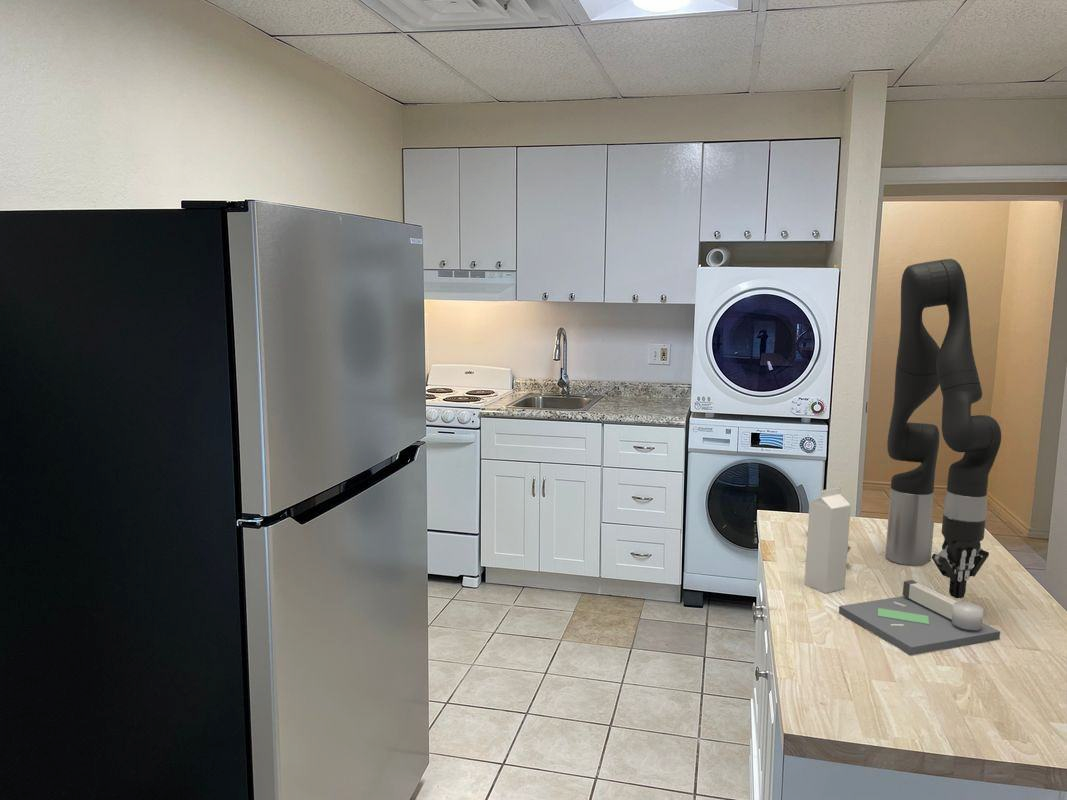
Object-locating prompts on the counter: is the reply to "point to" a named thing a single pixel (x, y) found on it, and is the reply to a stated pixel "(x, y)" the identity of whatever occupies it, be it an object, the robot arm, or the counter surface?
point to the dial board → (913, 625)
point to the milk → (827, 541)
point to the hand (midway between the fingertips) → (956, 596)
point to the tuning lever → (945, 606)
